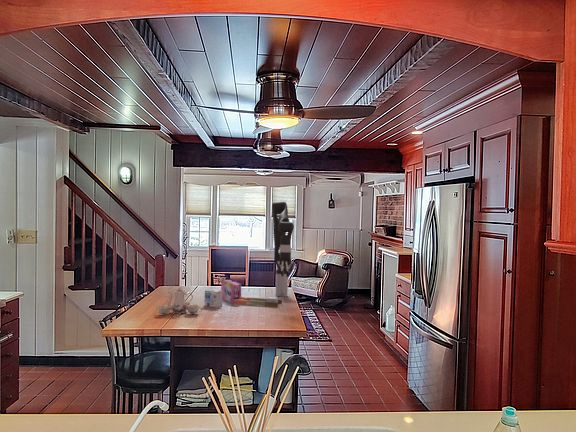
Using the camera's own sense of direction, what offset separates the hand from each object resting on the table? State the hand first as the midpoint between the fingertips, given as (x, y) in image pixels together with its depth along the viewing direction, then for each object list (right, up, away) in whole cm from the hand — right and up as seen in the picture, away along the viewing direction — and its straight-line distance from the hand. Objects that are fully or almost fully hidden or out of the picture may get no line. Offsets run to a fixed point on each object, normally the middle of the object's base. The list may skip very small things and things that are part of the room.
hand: (285, 276), depth 311 cm
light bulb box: (-49, -20, +2) cm, 53 cm away
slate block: (-9, -20, +2) cm, 22 cm away
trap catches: (-29, -19, +8) cm, 36 cm away
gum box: (-40, -20, +25) cm, 51 cm away
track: (-18, -21, +5) cm, 28 cm away
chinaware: (-67, -21, -23) cm, 73 cm away
